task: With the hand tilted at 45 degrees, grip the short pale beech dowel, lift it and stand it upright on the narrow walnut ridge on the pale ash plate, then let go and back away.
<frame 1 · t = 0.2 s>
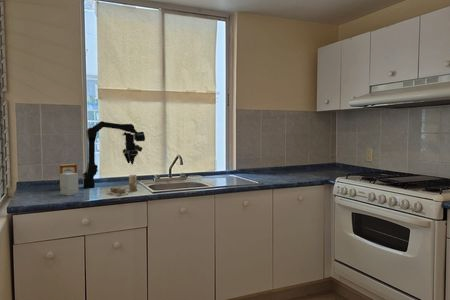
hand: (130, 163, 241), 14 cm above the worktop, tool pointing down, fingers open, 9 cm apart
balance ridge: (117, 194, 206), on the worktop
beech dowel: (132, 190, 217), on the worktop
supplement box: (69, 194, 205), on the worktop
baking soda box: (68, 188, 223), on the worktop
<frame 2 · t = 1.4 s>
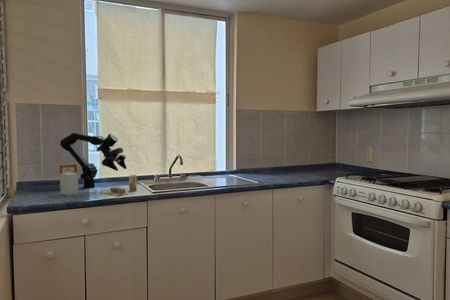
hand: (121, 169, 219), 13 cm above the worktop, tool tilted 45°, fingers open, 9 cm apart
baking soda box: (68, 188, 223), on the worktop, touching arm
everything else where it was.
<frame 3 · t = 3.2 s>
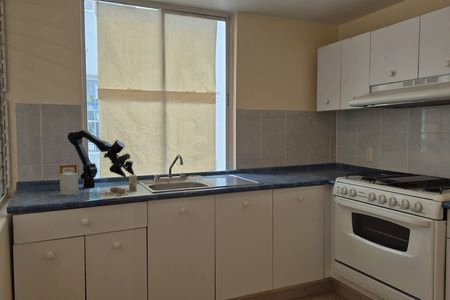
hand: (129, 175, 217), 10 cm above the worktop, tool tilted 45°, fingers open, 9 cm apart
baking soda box: (68, 188, 223), on the worktop
everything else where it was.
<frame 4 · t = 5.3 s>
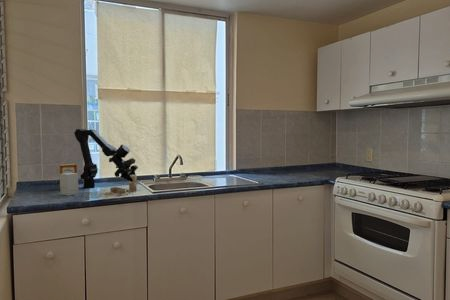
hand: (134, 180, 216), 7 cm above the worktop, tool tilted 45°, fingers closed on beech dowel, 4 cm apart
beech dowel: (132, 190, 217), on the worktop, touching gripper
everything else where it was.
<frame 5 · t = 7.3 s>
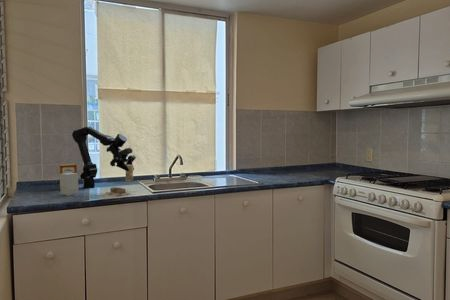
hand: (131, 170, 213), 13 cm above the worktop, tool tilted 45°, fingers closed on beech dowel, 4 cm apart
beech dowel: (129, 180, 214), point 7 cm above the worktop, touching gripper
everything else where it was.
when the fingers open (11 cm above the worktop, at t = 9.6 s): beech dowel stays where it is, resting on balance ridge.
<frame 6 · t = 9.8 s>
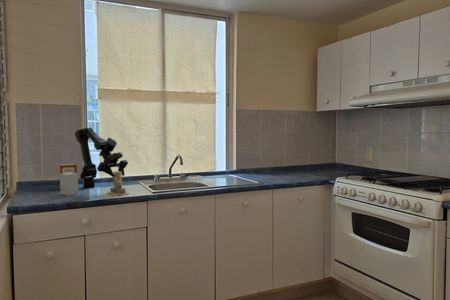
hand: (119, 176, 205), 11 cm above the worktop, tool tilted 45°, fingers open, 7 cm apart
beech dowel: (117, 188, 206), point 4 cm above the worktop, touching balance ridge
everything else where it was.
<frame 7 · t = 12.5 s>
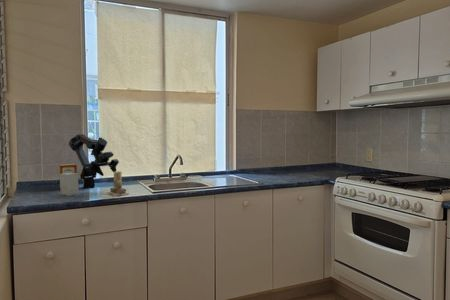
hand: (109, 174, 210), 11 cm above the worktop, tool tilted 45°, fingers open, 9 cm apart
nothing on the worktop moved.
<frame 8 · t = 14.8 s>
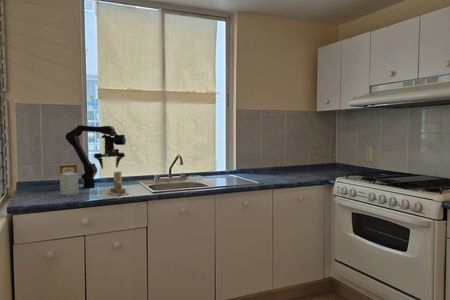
hand: (109, 168, 226), 13 cm above the worktop, tool pointing down, fingers open, 9 cm apart
nothing on the worktop moved.
at the end: beech dowel inside the target area on the balance ridge (0.0 cm from its centre), point 3.5 cm above the balance ridge's base; beech dowel tilted 0°; the gripper is holding nothing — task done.
